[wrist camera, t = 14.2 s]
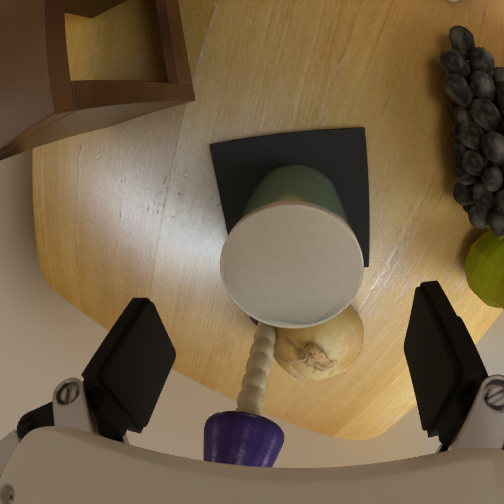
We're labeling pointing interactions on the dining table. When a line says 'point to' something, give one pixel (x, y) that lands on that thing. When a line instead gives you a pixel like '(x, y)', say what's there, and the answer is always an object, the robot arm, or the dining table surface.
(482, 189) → the fruit
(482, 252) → the fruit
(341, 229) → the cup
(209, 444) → the toy lamp
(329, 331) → the onion
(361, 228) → the mat
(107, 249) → the dining table surface
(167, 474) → the robot arm
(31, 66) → the shelf
